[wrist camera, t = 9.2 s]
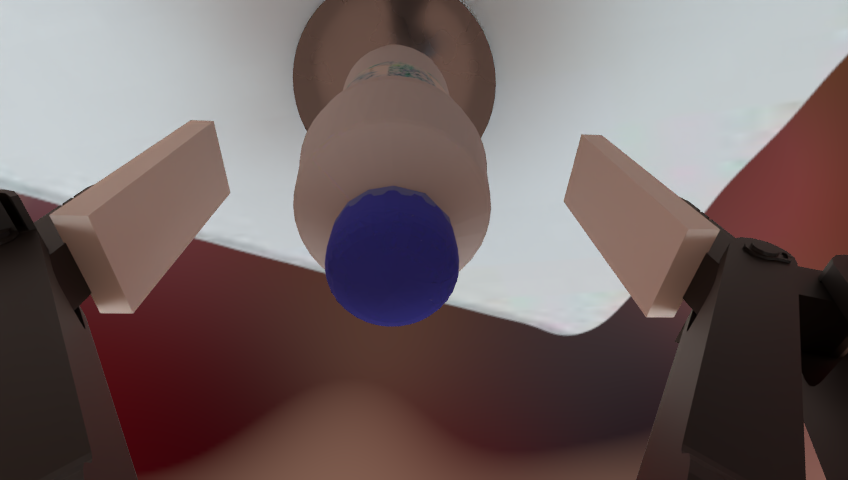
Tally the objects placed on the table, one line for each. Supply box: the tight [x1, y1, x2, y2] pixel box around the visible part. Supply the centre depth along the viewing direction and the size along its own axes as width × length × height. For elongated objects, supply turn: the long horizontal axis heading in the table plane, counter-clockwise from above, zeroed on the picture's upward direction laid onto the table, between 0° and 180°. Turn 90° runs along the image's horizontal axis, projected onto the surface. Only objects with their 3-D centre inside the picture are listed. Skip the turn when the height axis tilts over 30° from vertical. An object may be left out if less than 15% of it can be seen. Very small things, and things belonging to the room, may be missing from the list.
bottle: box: [293, 44, 491, 326], centre depth 18 cm, size 7×7×20 cm
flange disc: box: [293, 0, 496, 138], centre depth 26 cm, size 13×13×1 cm
